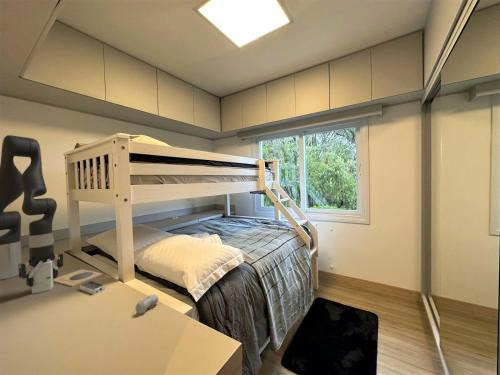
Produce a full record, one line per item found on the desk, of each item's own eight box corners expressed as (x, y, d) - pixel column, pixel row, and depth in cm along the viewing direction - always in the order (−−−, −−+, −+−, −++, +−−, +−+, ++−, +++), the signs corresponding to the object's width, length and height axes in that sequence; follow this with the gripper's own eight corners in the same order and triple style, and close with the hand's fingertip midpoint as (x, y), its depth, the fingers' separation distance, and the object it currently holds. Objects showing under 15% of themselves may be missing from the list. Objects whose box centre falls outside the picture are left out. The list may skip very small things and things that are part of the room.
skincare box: (31, 294, 85) (30, 265, 85) (35, 290, 88) (34, 262, 88) (51, 289, 88) (50, 262, 88) (54, 285, 92) (53, 259, 92)
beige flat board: (50, 281, 97) (50, 279, 97) (82, 270, 109) (81, 269, 109) (72, 286, 91) (72, 285, 91) (102, 274, 103) (102, 273, 103)
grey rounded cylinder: (152, 304, 77) (161, 302, 75) (132, 316, 69) (142, 315, 67) (149, 293, 77) (159, 291, 75) (129, 304, 70) (139, 302, 68)
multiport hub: (91, 285, 92) (91, 280, 92) (105, 290, 87) (105, 285, 87) (79, 290, 88) (79, 285, 88) (93, 295, 83) (93, 290, 83)
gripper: (57, 239, 96) (58, 274, 96) (13, 248, 83) (14, 288, 83) (66, 240, 93) (68, 276, 93) (22, 250, 80) (24, 291, 80)
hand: (43, 282), depth 88 cm, fingers closed on skincare box, 7 cm apart
